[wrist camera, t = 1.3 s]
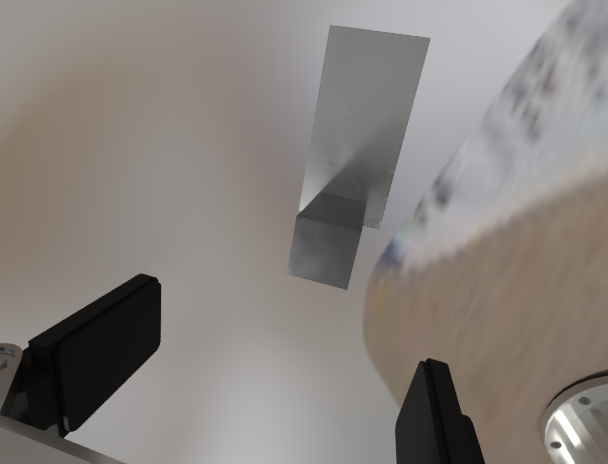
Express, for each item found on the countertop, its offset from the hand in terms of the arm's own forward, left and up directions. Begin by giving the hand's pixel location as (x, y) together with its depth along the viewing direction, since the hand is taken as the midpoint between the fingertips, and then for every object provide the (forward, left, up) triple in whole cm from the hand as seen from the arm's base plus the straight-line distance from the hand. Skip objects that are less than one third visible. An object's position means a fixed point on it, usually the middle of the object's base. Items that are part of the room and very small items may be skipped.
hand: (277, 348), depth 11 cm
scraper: (+6, 0, -18) cm, 19 cm away
